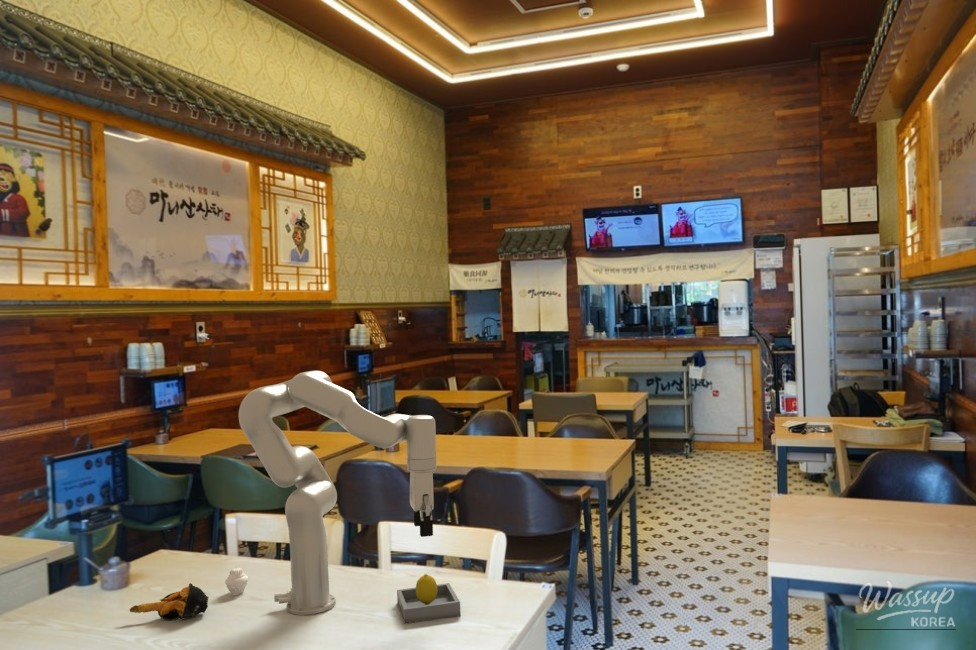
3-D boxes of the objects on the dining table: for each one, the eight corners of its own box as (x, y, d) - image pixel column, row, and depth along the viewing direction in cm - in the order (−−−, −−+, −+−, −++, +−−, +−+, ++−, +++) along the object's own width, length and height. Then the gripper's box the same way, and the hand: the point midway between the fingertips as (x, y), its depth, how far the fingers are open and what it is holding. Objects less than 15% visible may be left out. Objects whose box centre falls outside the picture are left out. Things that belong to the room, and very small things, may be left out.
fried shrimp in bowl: (210, 603, 187) (135, 592, 181) (198, 636, 190) (124, 627, 184) (214, 578, 195) (142, 567, 189) (202, 611, 198) (131, 601, 192)
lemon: (434, 610, 185) (433, 578, 185) (413, 609, 186) (412, 577, 186) (440, 601, 191) (439, 570, 191) (420, 600, 192) (418, 570, 192)
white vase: (252, 591, 207) (251, 567, 207) (232, 598, 202) (231, 573, 202) (241, 587, 211) (240, 562, 211) (221, 593, 206) (220, 568, 206)
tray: (404, 623, 180) (404, 609, 180) (397, 603, 194) (396, 589, 194) (460, 615, 183) (460, 601, 183) (449, 596, 197) (449, 583, 197)
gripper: (402, 459, 196) (404, 523, 196) (412, 471, 179) (413, 541, 179) (430, 457, 198) (432, 520, 198) (442, 469, 181) (444, 538, 181)
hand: (423, 530), depth 188 cm, fingers open, 9 cm apart
